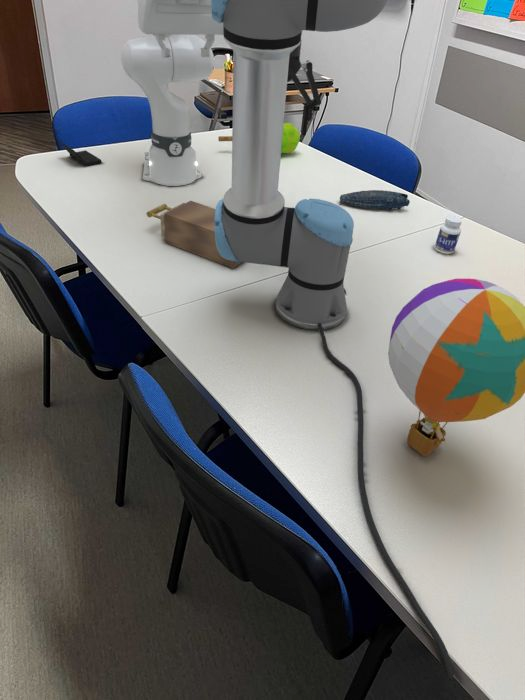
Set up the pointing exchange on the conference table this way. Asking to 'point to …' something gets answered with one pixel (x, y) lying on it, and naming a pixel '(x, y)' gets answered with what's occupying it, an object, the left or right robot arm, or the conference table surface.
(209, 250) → the cabinet
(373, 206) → the fish model
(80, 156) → the black handled piece
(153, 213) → the drawer
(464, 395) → the toy
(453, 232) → the pill bottle
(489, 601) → the conference table surface
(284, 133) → the decorative tree
